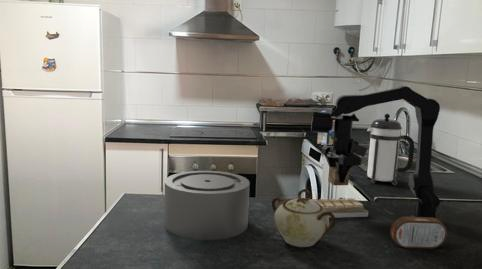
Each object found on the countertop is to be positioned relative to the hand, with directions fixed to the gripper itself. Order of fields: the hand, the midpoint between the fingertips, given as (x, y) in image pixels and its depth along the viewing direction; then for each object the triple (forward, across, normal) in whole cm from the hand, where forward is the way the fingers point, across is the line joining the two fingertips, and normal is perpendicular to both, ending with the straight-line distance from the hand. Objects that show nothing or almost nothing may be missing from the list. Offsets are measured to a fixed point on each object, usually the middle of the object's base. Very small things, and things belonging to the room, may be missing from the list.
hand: (338, 180), depth 140 cm
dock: (+11, 0, 0) cm, 11 cm away
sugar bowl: (+12, -22, +20) cm, 32 cm away
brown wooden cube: (+1, 0, 0) cm, 1 cm away
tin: (+11, -29, -12) cm, 33 cm away
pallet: (+10, 0, 0) cm, 10 cm away
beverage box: (+11, +121, -47) cm, 130 cm away
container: (+12, -6, +44) cm, 46 cm away
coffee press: (+11, +37, -39) cm, 55 cm away
